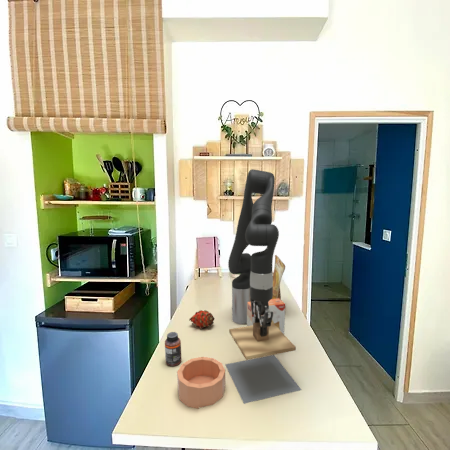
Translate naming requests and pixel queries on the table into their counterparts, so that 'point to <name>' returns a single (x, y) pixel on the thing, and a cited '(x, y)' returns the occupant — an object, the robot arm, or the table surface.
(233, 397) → the table surface
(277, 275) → the pancake mix bag
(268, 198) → the robot arm
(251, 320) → the cracker box
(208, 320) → the dragon fruit
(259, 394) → the mat
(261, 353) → the board
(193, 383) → the bowl
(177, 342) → the supplement bottle
